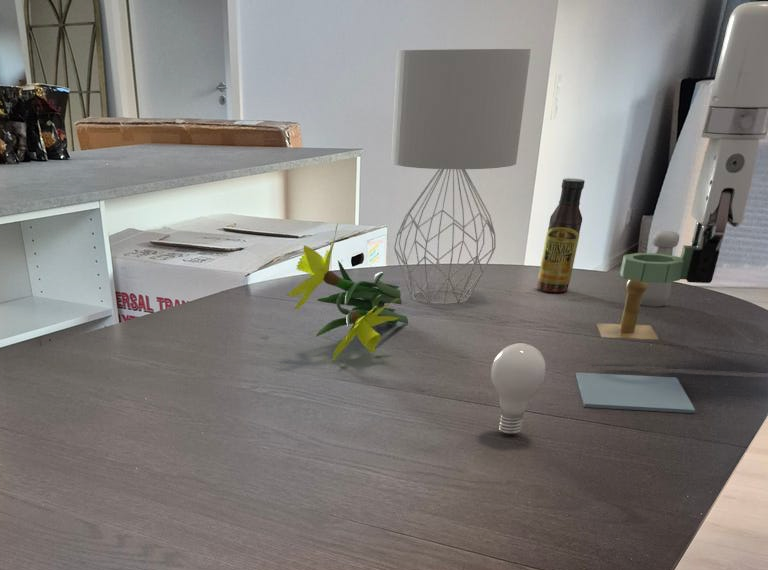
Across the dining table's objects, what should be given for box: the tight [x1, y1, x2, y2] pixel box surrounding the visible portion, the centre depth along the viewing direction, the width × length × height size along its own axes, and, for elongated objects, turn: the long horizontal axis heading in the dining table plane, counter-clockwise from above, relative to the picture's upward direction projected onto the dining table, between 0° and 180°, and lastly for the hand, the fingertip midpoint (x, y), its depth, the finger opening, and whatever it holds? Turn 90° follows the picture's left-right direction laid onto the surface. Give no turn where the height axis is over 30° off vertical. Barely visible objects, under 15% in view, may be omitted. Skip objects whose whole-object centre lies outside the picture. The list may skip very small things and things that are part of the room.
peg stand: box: [596, 279, 660, 341], centre depth 140 cm, size 9×9×10 cm
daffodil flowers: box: [286, 223, 409, 361], centre depth 135 cm, size 17×15×35 cm
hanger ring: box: [619, 244, 697, 283], centre depth 116 cm, size 11×8×4 cm, turn 78°
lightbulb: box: [490, 342, 547, 437], centre depth 102 cm, size 6×6×11 cm
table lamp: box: [390, 48, 532, 305], centre depth 155 cm, size 22×22×40 cm
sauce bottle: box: [536, 177, 586, 294], centre depth 165 cm, size 6×6×20 cm
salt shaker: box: [640, 230, 680, 308], centre depth 155 cm, size 6×6×13 cm
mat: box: [575, 372, 696, 414], centre depth 118 cm, size 14×14×1 cm
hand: (697, 279), depth 117 cm, fingers closed on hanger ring
